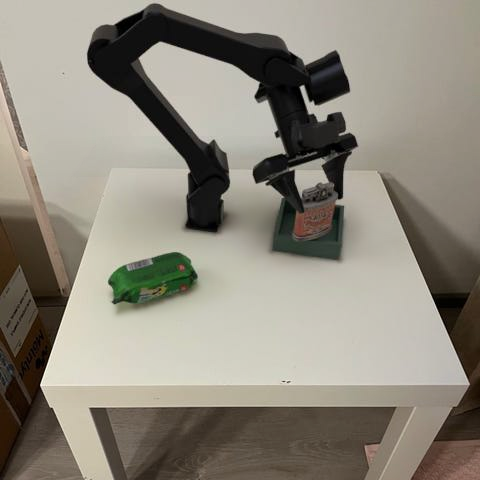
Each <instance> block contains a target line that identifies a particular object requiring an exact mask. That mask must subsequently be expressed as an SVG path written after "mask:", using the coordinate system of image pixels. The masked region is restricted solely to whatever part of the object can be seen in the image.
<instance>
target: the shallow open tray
mask: <svg viewBox="0 0 480 480" xmlns="http://www.w3.org/2000/svg"><path fill="white" fill-rule="evenodd" d="M296 212H297V210H296V209H295V208H294V207H293V206H292V205H291V204H290V203H289V202H288V201H287V200H286V199H285V198H284V197H281V201H280V206H279V209H278V213H277V214H278V215H277V218H276V222H275V223H276V224H275V229H274V232H273V238H272V239H273V240H272V249H271V251H272V252H279V253H285V254H293V255H299V256H300V255H301V256H308V257H315V258H322V259H330V260H336V261H338V260H339V259H340V255H341V251H342V246H343V235H344V219H345V205H343V204H337V203H335V208H334V212H333V217H332V222H331V225H332V227H331V231H330V232H328V233H326V234H324V235H322V236H320V237H317V238H314V239H310V240H306V241H296V240H294V239H293V237H292V233H293V230H294V226H295V219H296Z"/></svg>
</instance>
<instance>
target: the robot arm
mask: <svg viewBox="0 0 480 480" xmlns="http://www.w3.org/2000/svg"><path fill="white" fill-rule="evenodd" d="M159 43H163V44H167V45H170V46H173V47H175V48H179V49H181V50H185V51H187V52H191V53H193V54H194V53H195V54H197V55H201V56H204V57H207V58H210V59H213V60H216V61H220V62H223V63H226V64H229V65H232V66H233V67H235V68H237V69H238V70H240V71H241V72H242V73H244V74H245V75H246V76H248V77H249V78H251V79H253V80H254V81H257V82H258V88H257V90H256V92H255V94H254V95H253V97H254V99H255V101H256V103H257V104H260V103H261V104H262V103H264V102H266V101H267V103H268V106H269V109H270V112H271V114H272V118H273V121H274V124H275V126H276V129H277V130H276V131H274V132H273V133H274V136H275V139H280V141H281V144H282V146H283V150H284V152H285V153H283V152H282V153H279V154H275V155H271V156H269V157H266V158H264V159H262V160H261V161H259V162H258V163H257V164H255V165H254V166H253V168H252V177H253V180H254V183H255V185H257V184H258V185H259V184H261V183H264V182H265V186H266V187H269V186H271V187H272V188H273V189H274V190H275V191H276V192H277V193H278V194H280V195H281V196H282V198H285V199H286V200H287V201H288V202H289V203H290V204H291V205H292V206H293V207H294V208H295V209H296V210H297V211H298V212H299V213H300V214H302V213H304V212H305V211H304V206H303V203H302V200H301V198H302V196H301V195H300V192H299V190H298V189H299V188H298V186H297V184H296V169H292V168H295V167H298V166H301V165H305V164H307V163H311V162H313V161H316V160H320V159H322V160H324V163H323V164H321V168H322V170H323V173H324V175H325V177H326V179H327V182H328V183H329V182H332V183H333V184H334V188H333V191H335V192H337V193H338V198H337V201H340V200H342V199H343V198H344V173H345V167H346V166H345V165H346V163H347V160H348V158H349V157H350V156H352V154H353V150H355V149H356V148H358V147H359V144H358V141H357V137H356V135H354V134H353V133H351V132H347V133H345V132H346V131H347V123H346V120H345V117H344V114H343V112H342V111H335V112H331V113H328V114H327V115H326V119H325V120H321V121H318V118H317V116H316V114H315V113H314V112H313V113H309V110H308V107H307V104H306V101H305V98H304V95H303V92H302V89H301V87H303V88H304V92H305V95H306V98H307V100H308V103H310V104H312V102H313V105H314V106H317V107H319V106H322V105H324V104H326V103H328V102H331V101H333V100H335V99H338V98H340V97H343V96H345V95H347V94H350V93H351V86H350V82H349V78H348V75H347V74H346V72H345V68H344V66H343V63H342V61H341V56H340V53H339V52H338V50H336V49H334V50H333V51H330V52H328V53H326V54H325V55H324V56H322V57H320V58H317V59H316V60H313V61H311V62H308V63H307V64H305V62H304V60H303V59H302V58H301V57H299V56H298V55H296V54H295V53H293V52H292V51H290V50H289V48H288V46H287V44H286V42H285V41H284V39H283V38H282V37H280V36H278V35H275V34H268V33H261V32H246V33H245V32H236V31H233V30H231V29H228V28H226V27H222V26H219V25H216V24H213V23H210V22H207V21H205V20H201V19H199V18H196V17H192V16H190V15H187V14H185V13H182V12H178V11H176V10H173V9H170V8H168V7H167V8H166V7H165V6H164V5H162V4H161V3H156V2H154V3H150V4H148V5H147V6H145V8H143V9H141V10H140V11H138V12H137V11H136V12H134V13H133V14H129V15H128V16H125V17H124V18H122V19H120V20H119V21H117V22H116V23H114V24H107V23H106V24H101V25H99V26H97V27H96V28H95V29H94V31H93V32H92V34H91V37H90V42H89V45H88V48H87V52H86V60H87V62H86V63H87V65H88V67H89V69H90V71H91V72H92V73H93V74H94V75H95V76H96V77H97V78H98V79H100V80H101V81H102V82H103V83H105V84H106V85H107V86H108V87H109V88H111V89H113V90H114V91H116V92H118V93H120V94H122V95H124V96H126V97H128V98H129V99H130V101H132V103H133V104H134V105H135V106H136V107H137V108H138V109H139V110H140V112H141V113H142V114H143V115H144V117H146V118H147V119H148V120H149V121H150V123H151V124H152V125H153V126H154V127H155V128H156V130H158V132H159V133H160V135H162V136H163V137H164V139H165V140H166V141H167V142H168V143H169V144H170V145H171V146H172V148H173V149H174V150H175V151H176V152H177V153H178V154H179V155H180V157H181V158H182V159H183V161H184V162H185V163H186V166H187V168H188V169H189V172H188V173H187V193H186V196H185V198H186V199H185V202H186V216H187V219H186V222H185V225H184V226H185V228H186V229H190V230H198V231H204V232H206V231H207V232H212V233H216V232H218V230H219V227H220V225H222V223H223V220H224V217H225V211H224V210H225V204H224V203H225V200H224V199H222V195H224V194H226V193H227V192H228V190H229V189H230V185H231V177H230V167H229V161H228V153H227V152H225V151H223V149H221V147H220V146H219V144H218V143H217V141H216V139H212V140H211V141H210V142H209V143H208V142H205V141H204V140H202V139H201V138H199V137H198V135H197V134H196V133H195V131H194V130H193V129H192V128H191V126H189V124H188V123H187V121H186V120H185V119H184V118H183V117H182V116H181V115H180V113H179V112H178V111H177V109H176V108H174V106H173V105H172V104H171V102H170V101H169V100H168V98H166V96H165V95H164V94H163V93H162V91H161V90H160V89H159V88H158V86H157V85H156V84H155V83H154V82H153V81H152V80H151V79H150V77H149V76H148V74H147V73H146V71H145V69H144V66H143V64H142V61H141V60H140V57H142V56H143V55H144V54H146V52H148V51H149V50H150V49H151V48H152V47H153V46H155V45H157V44H159ZM290 169H291V170H290Z"/></svg>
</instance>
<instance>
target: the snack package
mask: <svg viewBox="0 0 480 480" xmlns="http://www.w3.org/2000/svg"><path fill="white" fill-rule="evenodd" d="M198 278H199V275H198V273H197V271H196V270H195V268H194V267H193V265H192V260H191V258H189V257H188V256H186V254H183V253H182V252H178V251H172V252H167V253H162V254H160V255H156V256H152V257H148V258H144V259H140V260H137V261H132V262H129V263H126V264H124V265H122V266H119V267H118V268H117V269H115V270H114V271H113V272H112V273H111V274H110V276H109V277H108V280H107V284H108V285H109V286H110V287H111V289H112V294H113V298H112V300H111V301H110V300H109V302H110V303H112V304H113V305H117V304H119V303H124V302H125V303H128V304H133V305H134V304H136V305H137V304H143V303H146V302H151V301H154V300H156V299H160V298H161V299H162V298H163V297H168V296H171V295H172V294H176V293H179V292H182V291H184V290H188V288H190V287H191V286H192V285H193V284H194V283H195V282H196V281H197V280H198Z"/></svg>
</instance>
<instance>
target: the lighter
mask: <svg viewBox="0 0 480 480" xmlns="http://www.w3.org/2000/svg"><path fill="white" fill-rule="evenodd" d="M333 188H334V184H333V183H332V182H329V181H328V182H326V183H322V182H317V183H316V184H315V186H311V187H308V188H305V189H303V190H302V192H301V200H302V203H303V206H304V211H305V212H304V213H302V214H300V213H299V212H298V211H297V212H296V219H295V226H294V230H293V233H292V237H293V239H294V240H296V241H306V240H310V239H314V238H317V237H320V236H322V235H324V234H326V233H328V232H330V231H331V227H332V225H331V222H332V217H333V212H334V208H335V204H337V203H336V202H337V201H338V199H337V198H338V193H337V192H335V191H333Z"/></svg>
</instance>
